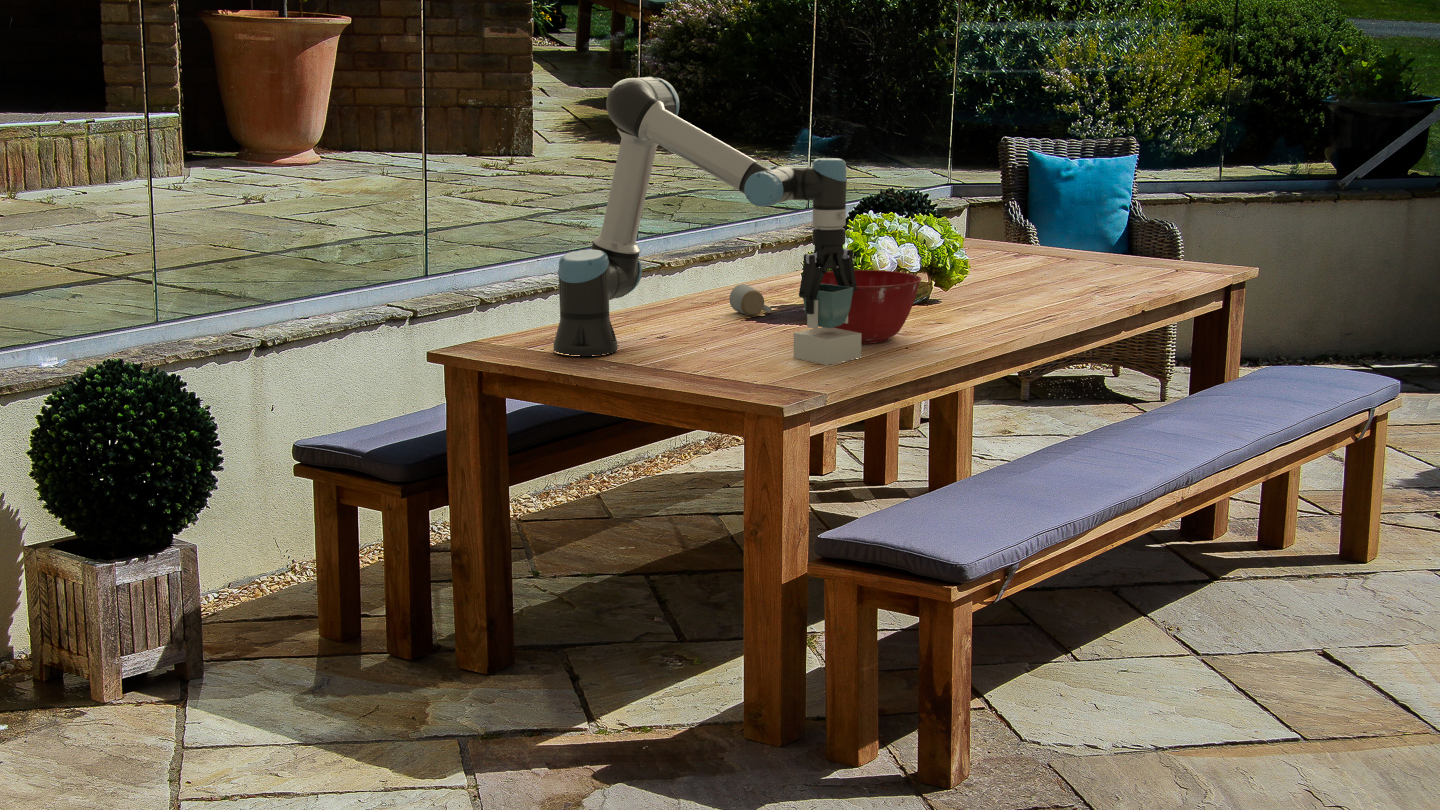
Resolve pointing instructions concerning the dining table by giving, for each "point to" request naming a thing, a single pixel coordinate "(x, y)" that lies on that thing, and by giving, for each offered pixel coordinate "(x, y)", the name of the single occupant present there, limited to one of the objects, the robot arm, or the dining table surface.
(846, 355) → the stone block
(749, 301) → the ceramic mug
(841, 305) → the flower pot
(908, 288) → the mixing bowl
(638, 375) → the dining table surface
